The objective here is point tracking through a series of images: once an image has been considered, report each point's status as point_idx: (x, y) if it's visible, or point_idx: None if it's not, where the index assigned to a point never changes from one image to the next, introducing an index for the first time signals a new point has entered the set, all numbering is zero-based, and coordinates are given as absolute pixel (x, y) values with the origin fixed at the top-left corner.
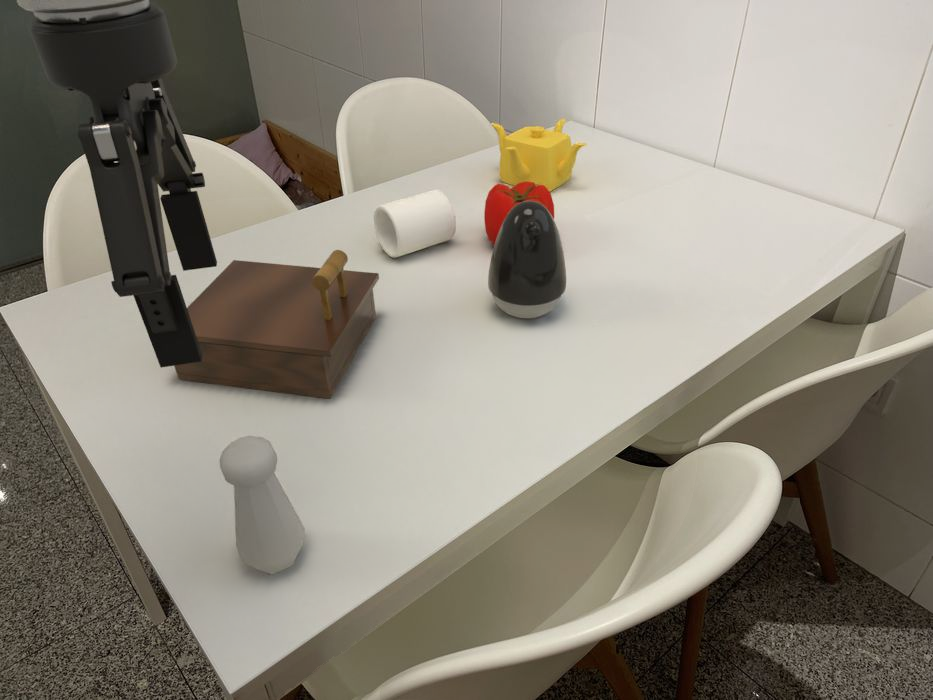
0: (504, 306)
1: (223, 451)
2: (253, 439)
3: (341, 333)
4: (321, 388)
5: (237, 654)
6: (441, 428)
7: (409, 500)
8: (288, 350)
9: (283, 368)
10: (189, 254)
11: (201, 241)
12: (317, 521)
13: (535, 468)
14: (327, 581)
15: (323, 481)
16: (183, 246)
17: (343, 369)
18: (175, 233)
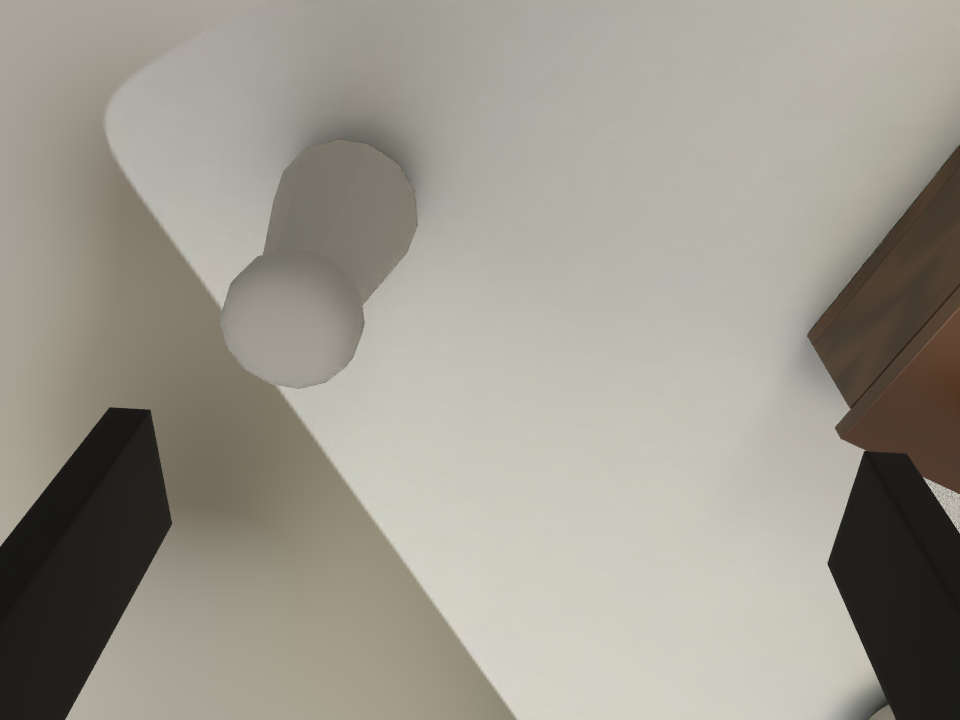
0: None
1: (298, 283)
2: (319, 358)
3: None
4: (827, 336)
5: (140, 115)
6: (611, 514)
7: (438, 432)
8: (919, 337)
9: (911, 283)
10: (878, 543)
11: (883, 641)
12: (427, 274)
13: (459, 612)
14: None
15: (535, 295)
16: (901, 564)
17: None
18: (939, 609)
